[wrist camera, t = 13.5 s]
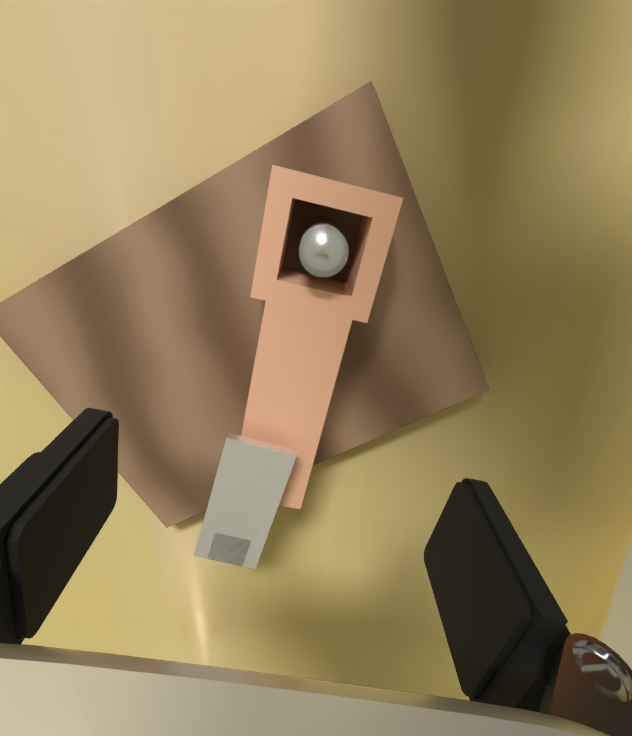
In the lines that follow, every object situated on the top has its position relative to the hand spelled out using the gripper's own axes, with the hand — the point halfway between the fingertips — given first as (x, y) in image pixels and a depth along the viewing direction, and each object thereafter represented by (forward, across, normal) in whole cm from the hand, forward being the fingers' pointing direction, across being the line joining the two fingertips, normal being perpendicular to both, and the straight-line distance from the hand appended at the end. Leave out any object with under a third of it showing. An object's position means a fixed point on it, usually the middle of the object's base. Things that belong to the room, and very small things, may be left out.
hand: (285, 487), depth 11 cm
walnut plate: (+14, +3, +2) cm, 14 cm away
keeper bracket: (+14, +1, +8) cm, 16 cm away
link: (+12, 0, +1) cm, 12 cm away
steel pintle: (+12, 0, -5) cm, 13 cm away
